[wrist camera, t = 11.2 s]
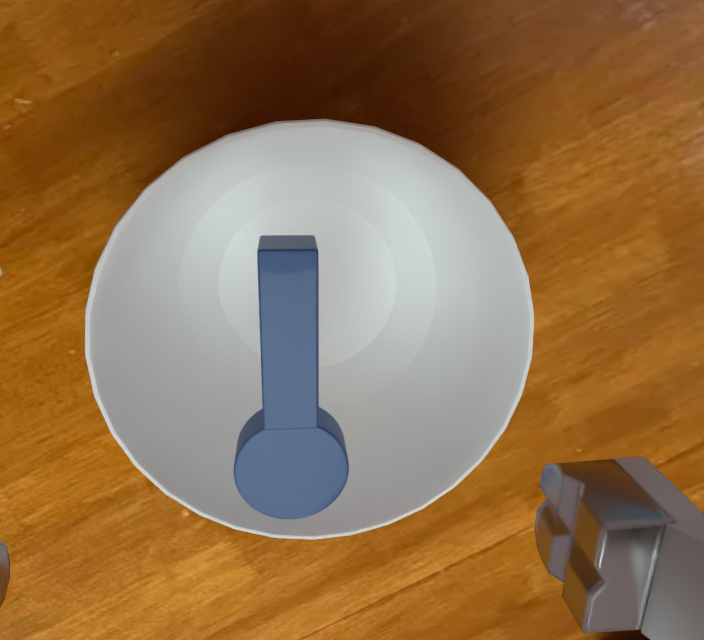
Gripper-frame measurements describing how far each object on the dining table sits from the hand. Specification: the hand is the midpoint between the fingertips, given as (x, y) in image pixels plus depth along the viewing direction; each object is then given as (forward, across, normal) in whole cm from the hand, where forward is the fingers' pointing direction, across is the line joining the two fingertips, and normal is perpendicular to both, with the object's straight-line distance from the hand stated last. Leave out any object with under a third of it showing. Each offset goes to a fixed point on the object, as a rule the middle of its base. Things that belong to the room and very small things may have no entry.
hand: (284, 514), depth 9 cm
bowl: (+22, -1, +3) cm, 22 cm away
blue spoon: (+12, 0, +3) cm, 12 cm away
